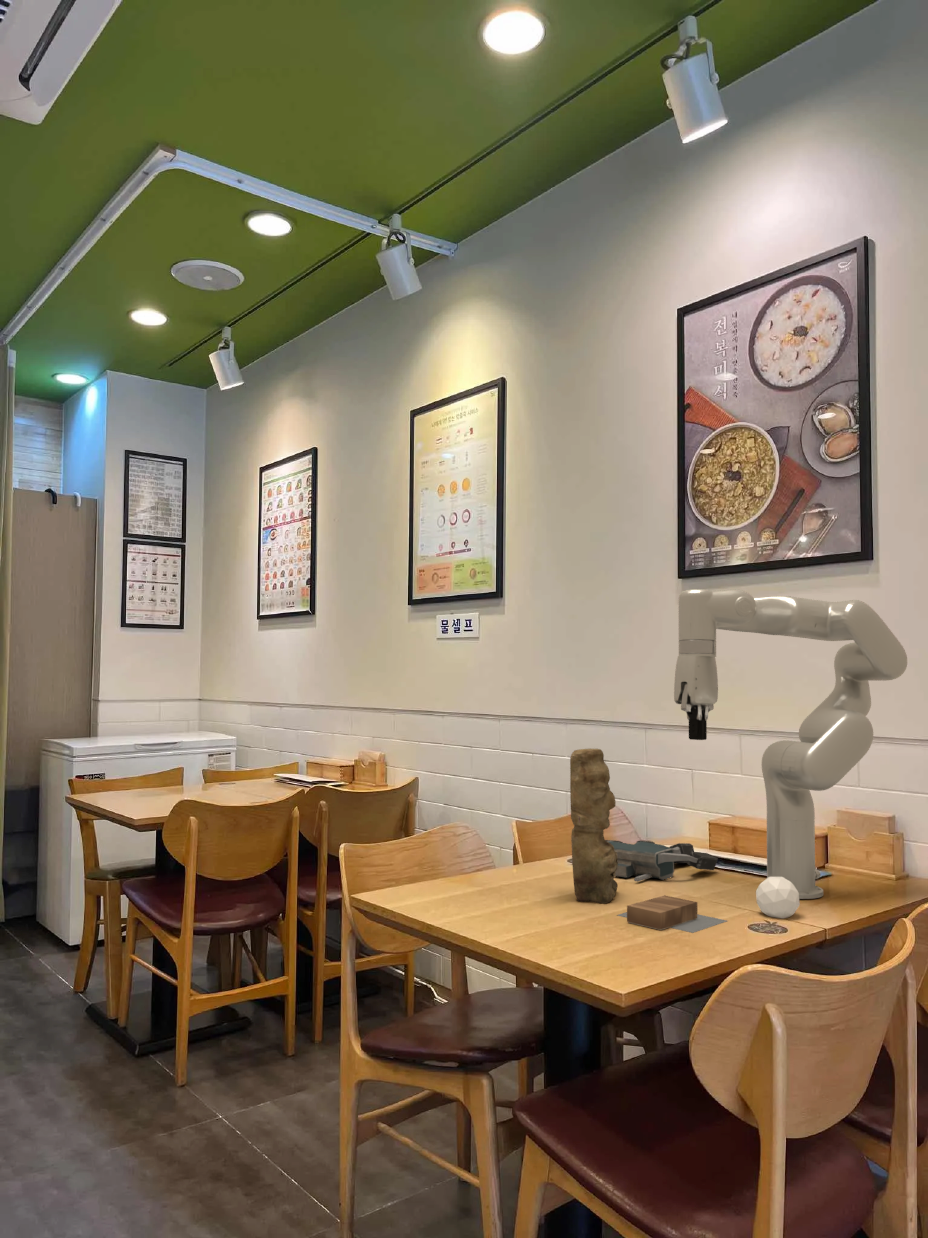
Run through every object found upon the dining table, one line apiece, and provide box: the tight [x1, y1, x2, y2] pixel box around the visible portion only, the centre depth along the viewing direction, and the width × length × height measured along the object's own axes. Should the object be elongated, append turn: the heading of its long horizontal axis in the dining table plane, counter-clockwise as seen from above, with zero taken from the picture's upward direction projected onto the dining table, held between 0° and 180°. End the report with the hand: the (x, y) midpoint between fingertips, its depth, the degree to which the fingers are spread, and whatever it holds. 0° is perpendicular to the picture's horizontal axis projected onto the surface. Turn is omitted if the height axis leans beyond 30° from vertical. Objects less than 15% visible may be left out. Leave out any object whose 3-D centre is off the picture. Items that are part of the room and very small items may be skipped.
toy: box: [605, 839, 719, 883], centre depth 215 cm, size 27×9×30 cm
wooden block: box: [626, 894, 698, 931], centre depth 166 cm, size 3×7×12 cm
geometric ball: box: [755, 877, 801, 919], centre depth 172 cm, size 8×8×8 cm
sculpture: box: [569, 748, 618, 905], centre depth 186 cm, size 12×9×30 cm
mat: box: [616, 911, 728, 934], centre depth 168 cm, size 12×16×1 cm
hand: (697, 739), depth 188 cm, fingers closed
